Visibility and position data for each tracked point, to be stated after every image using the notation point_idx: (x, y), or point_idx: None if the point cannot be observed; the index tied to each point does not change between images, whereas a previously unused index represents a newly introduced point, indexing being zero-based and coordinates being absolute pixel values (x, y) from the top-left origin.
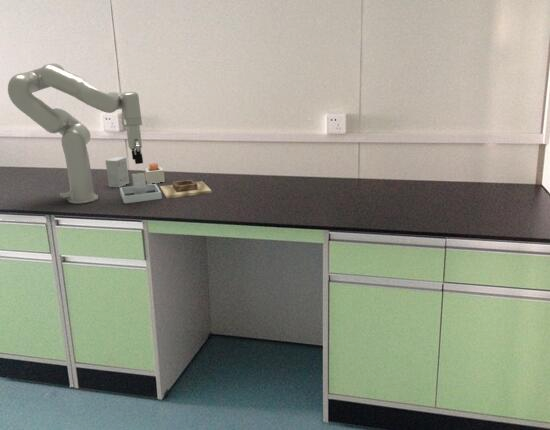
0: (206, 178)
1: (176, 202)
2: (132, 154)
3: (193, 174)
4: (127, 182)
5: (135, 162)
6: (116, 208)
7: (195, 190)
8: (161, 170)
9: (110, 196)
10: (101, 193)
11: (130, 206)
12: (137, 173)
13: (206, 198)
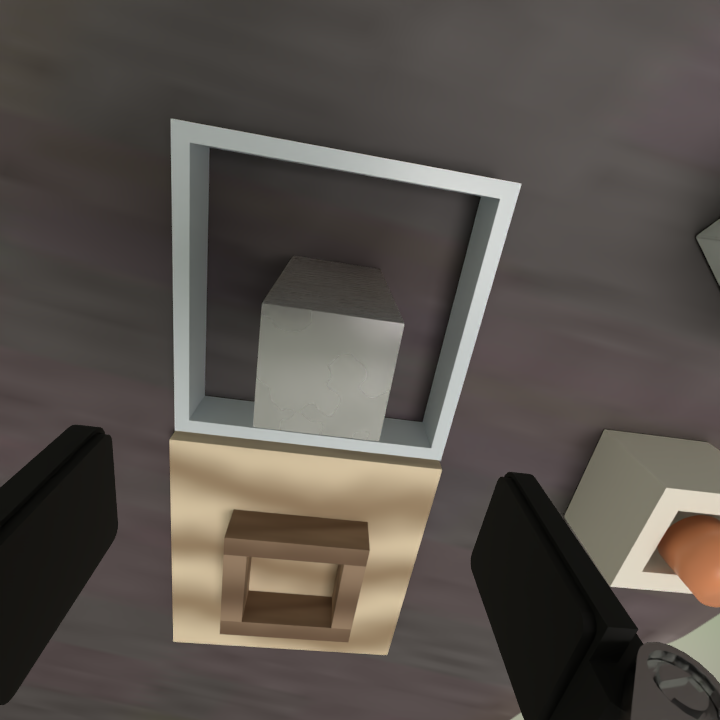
0: (470, 674)
1: None
2: (550, 547)
3: None
4: None
5: (59, 438)
6: (63, 11)
7: (214, 589)
8: (616, 574)
9: (493, 78)
10: (656, 24)
11: (82, 152)
12: (384, 383)
13: None
